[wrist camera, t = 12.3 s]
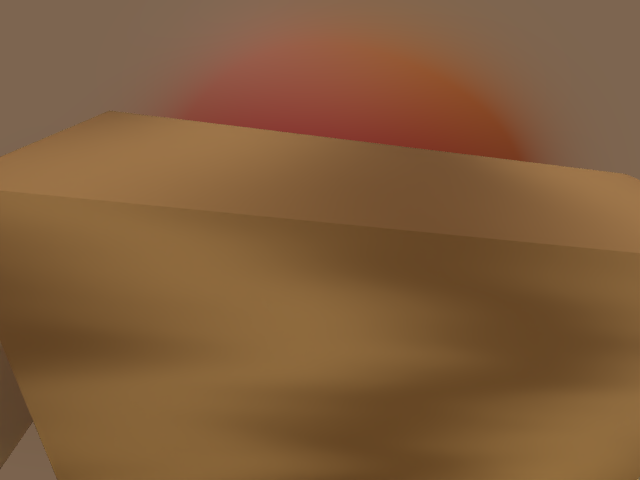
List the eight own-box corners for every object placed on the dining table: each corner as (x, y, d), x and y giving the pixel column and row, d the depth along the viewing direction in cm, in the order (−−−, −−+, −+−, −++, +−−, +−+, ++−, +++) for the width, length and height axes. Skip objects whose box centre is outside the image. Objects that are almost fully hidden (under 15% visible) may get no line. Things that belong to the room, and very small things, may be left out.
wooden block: (128, 652, 10) (-64, 184, 3) (169, 503, 13) (115, 108, 7) (467, 643, 11) (849, 274, 4) (429, 507, 14) (618, 170, 8)
